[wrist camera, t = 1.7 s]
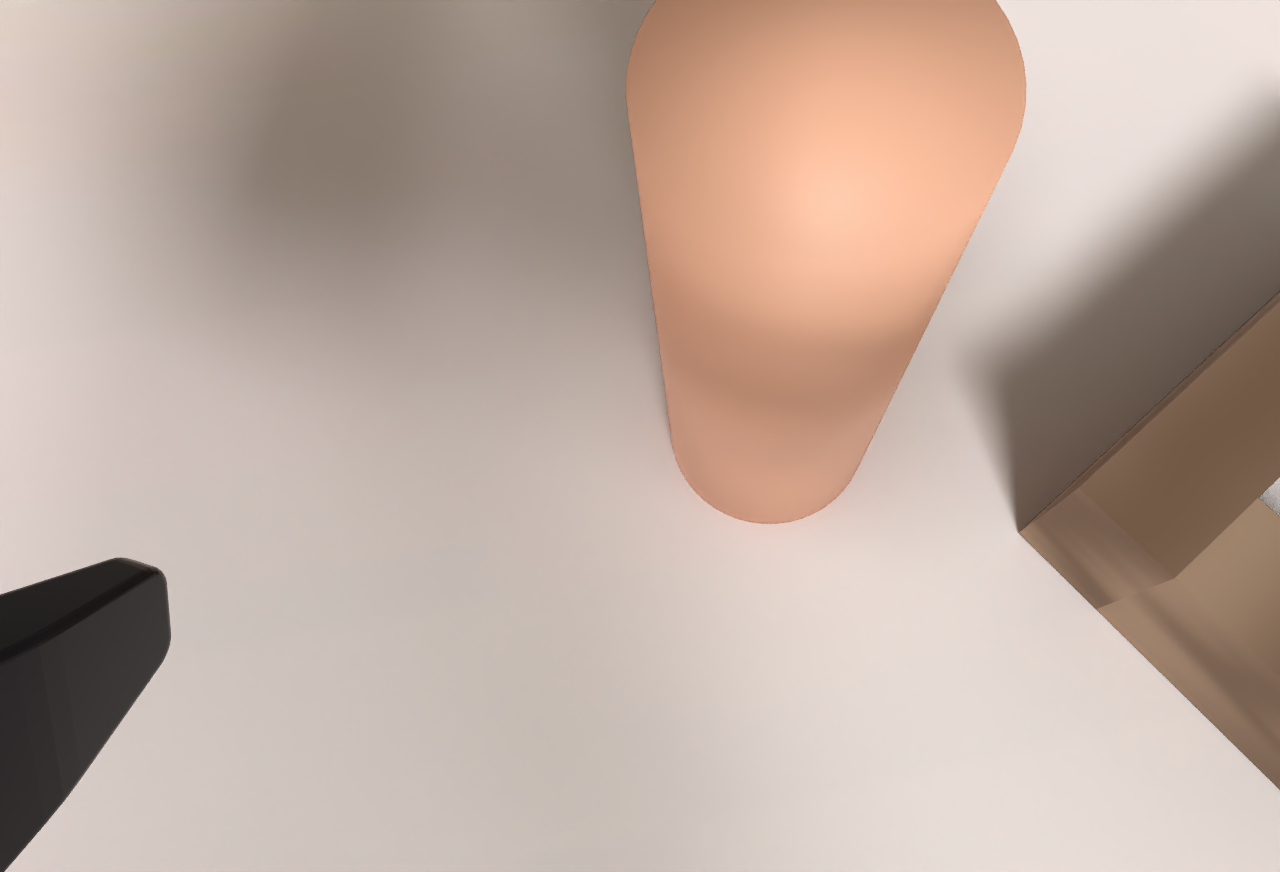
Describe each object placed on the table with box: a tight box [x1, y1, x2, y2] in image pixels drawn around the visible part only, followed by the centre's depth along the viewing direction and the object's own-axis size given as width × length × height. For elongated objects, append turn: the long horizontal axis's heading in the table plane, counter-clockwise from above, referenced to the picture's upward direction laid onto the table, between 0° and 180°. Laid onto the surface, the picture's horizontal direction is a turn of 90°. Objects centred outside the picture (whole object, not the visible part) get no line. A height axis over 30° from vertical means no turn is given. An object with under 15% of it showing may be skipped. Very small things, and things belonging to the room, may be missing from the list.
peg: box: [626, 0, 1026, 524], centre depth 18 cm, size 4×4×13 cm
